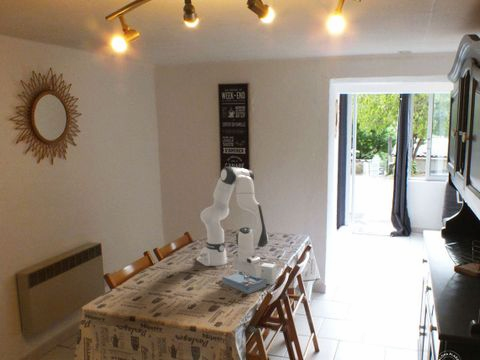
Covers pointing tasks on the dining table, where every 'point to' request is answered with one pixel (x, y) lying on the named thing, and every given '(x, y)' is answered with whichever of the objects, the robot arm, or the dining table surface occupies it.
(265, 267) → the small box
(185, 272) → the dining table surface
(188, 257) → the dining table surface
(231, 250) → the dining table surface
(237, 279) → the blue tray
